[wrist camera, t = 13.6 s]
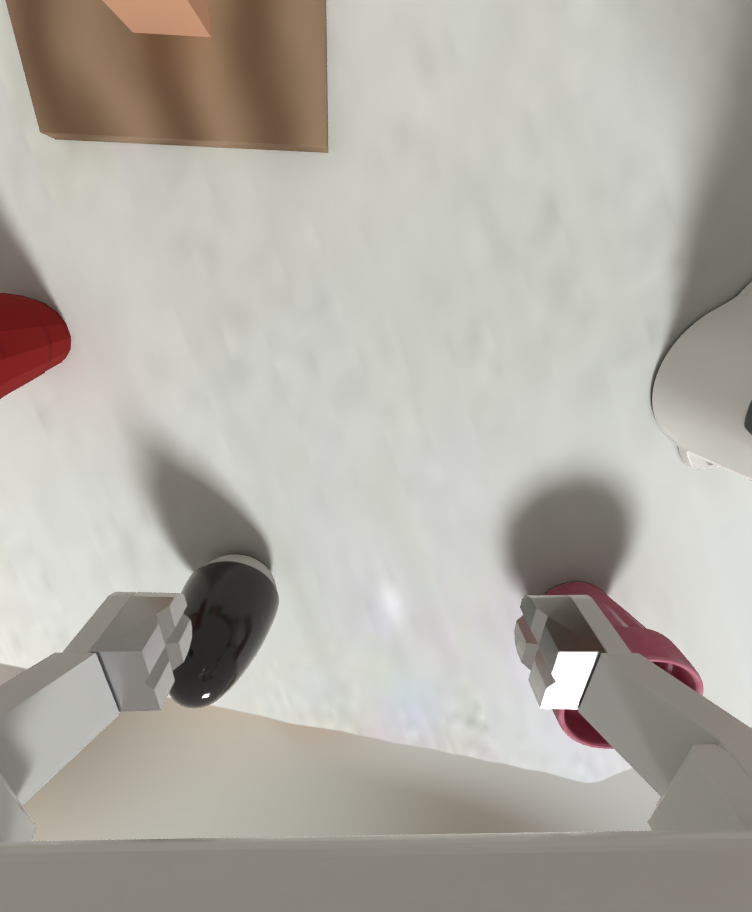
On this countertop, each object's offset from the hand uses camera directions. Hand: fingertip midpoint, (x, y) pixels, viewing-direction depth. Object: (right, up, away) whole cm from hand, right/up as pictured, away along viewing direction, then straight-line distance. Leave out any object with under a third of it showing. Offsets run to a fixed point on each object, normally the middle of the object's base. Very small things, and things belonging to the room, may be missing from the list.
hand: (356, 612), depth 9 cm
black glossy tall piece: (-15, -10, +37) cm, 41 cm away
